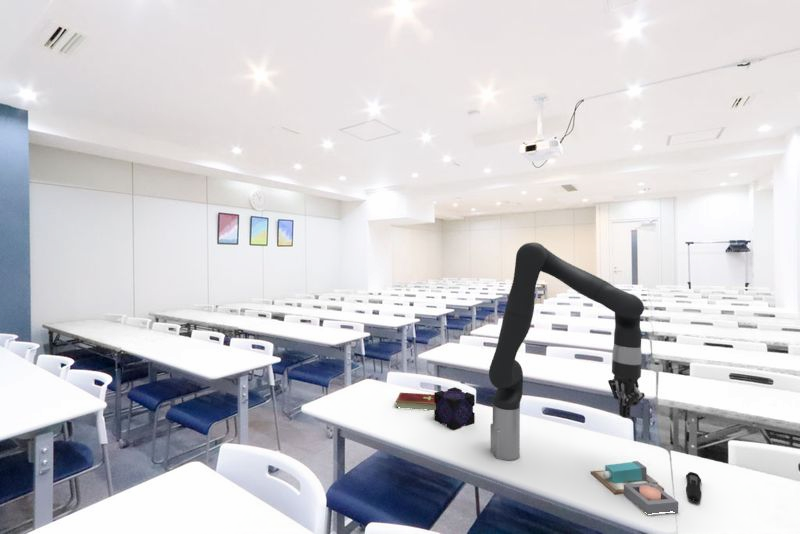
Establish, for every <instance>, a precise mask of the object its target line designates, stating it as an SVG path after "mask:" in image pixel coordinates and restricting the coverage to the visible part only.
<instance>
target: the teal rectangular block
mask: <svg viewBox="0 0 800 534" xmlns="http://www.w3.org/2000/svg"><path fill="white" fill-rule="evenodd" d="M604 467H605V468H604V470H605V471H604V472H603V476H604V477H605V478H608V479H609V480H610V481H611V482H612V483H621V482H629V481H637V480H646V479H647V475H648V473H647V472H648V471H647V470H648V469H647V466H645V465H643V464H642V463H641V462H639V460H635V461H630V462H622V463H613V464H605V466H604Z"/></svg>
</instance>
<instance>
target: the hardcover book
mask: <svg viewBox="0 0 800 534" xmlns="http://www.w3.org/2000/svg"><path fill="white" fill-rule="evenodd" d="M395 402H396V408H397V407H400V408H412V409H411V410H413V409H427V410H426V411H429V410H436V404H435V403H434V393H433V394H431V393H429V394H427V393H414V392H413V393H412V392H399V394H398V395H397V398H396V400H395Z"/></svg>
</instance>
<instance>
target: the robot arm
mask: <svg viewBox="0 0 800 534" xmlns="http://www.w3.org/2000/svg"><path fill="white" fill-rule="evenodd" d="M514 264H515V265H514V270H513V271H514V273H513V280H512V283H511V287H510V290H509V293H508V297H507V301H506V304H505V309H504V312H503V316H502V321H501V322H502V323H501V327H500V332H499V336H498V340H497V344H496V348H495V351H494V354H493V356H492V360H491V362H490V365H489V370H488V378H489V381H490V383H491V384H492V385H493V387H495V388H496V391H495V392H494V394H493V396H492V423H490V451H491V452H492V454H493V455H494V457H495V458H496V459H500V460H506V461H514V460H517V459H519V458H520V454H521V453H520V452H521V450H520V449H521V448H520V446H521V445H520V443H521V439H520V438H521V437H520V436H521V435H520V431H521V428H520V425H521V424H520V423H521V417H520V416H521V412H520V411H521V410H520V409H521V406H520V405H521V400H522V398H523V389H524V388H523V386H524V373H523V368H522V366H521V364H520V362H519V361H517V359H516V357H517V353H518V351H519V350H520V347H521V346H522V344H523V342H524V341H525V339H526V337H527V335H528V333H529V332H530V329H531V326H532V321H533V317H534V310H535V298H536V297H535V295H536V294H535V292H536V287H537V284H538V283H537V282H538V279H539V276H540V273H541V272H542V273H545V274H548V275H549V276H552V277H554V278H556V279H557V280H558V281H560V282H562V283H563V284H565V285H566V286H568V287H569V288H571V289H572V290H574V291H575V292H577V293H579V294H580V295H582V296H584V297H585V298H587V299H590V300H592V301H593V302H595V303H598V304H601V305H602V306H604V307H605V308H607V309H608V310H610V311H612V312H613V313H614V324H615V326H614V333H613V335H614V336H613V347H612V357H611V359H612V361H611V373H612V374H613V379H609V380H607V381H608V385H609V388H610V390H611V393H612V395H613V398H614V400H617V402H618V404H619V407H618V409H619V410H618V412H619V416H620V417H621V418H623V419H624V418H626V419H627V418H629V417H631V407H635V406H638V404H639V403H641V401H642V400H643V399H644V398H645V396H646V395H645V393H644V392H641V391H640V389H639V382H638V381H639V379H640V378H641V377H642V361H643V360H642V357H643V355H642V354H643V353H642V330H641V327H640V325H641V316H642V314H643V313H644V312H645V311H644V310H645V309H644V308H645V306H644V303H643V301H642V300H641V299H640V298H639V297H638V296H636V295H635V294H633V293H628V292H627V291H624V290H622V289H621V288H618V287H615V286H614V285H612V284H611V283H610V282H608V281H606V280H605V279H602V278H601V277H598V276H597V275H594V274H592V273H591V272H589V271H586V270H584V269H582V268H579V267H578V266H575V265H573V264H571V263H569V262H567V261H565V260H564V259H562V258H560V257H558V256H557V255H555V254H554V253H553V252H551V250H548V249H547V248H546V247H545V246H544V245H542V244H541V243H539V242H526V243H525V244H522V245H521V246H520V247H519V248H518V249H517V252H516V257H515V263H514Z"/></svg>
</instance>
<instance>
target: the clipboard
mask: <svg viewBox="0 0 800 534" xmlns="http://www.w3.org/2000/svg"><path fill="white" fill-rule="evenodd" d="M604 471H605V469H603V470H591V471H590V474H591V475H592V476H593V477H594V478H595V479H597V480H598V481H599V482H600V483H601V484H602V485H603V486H604V487H605V488H607V489H608V490H609V491H610V492H611V493H612V494H613V495H624V485H625V484H638V483H650V482H652V483H653V484H655V485H656V486H657V487H659V488H660V489H662V490H663V491H665V487H663V486H662V485H660V484H659V482H658V481H657V480H656V479H654V478H653V477H651V476H650V475H649V474H647V479H646V480H637V481H629V482H621V483H612V482H611V481H610V480H609V479H608V478H605V477H604V476H603V472H604Z"/></svg>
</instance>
